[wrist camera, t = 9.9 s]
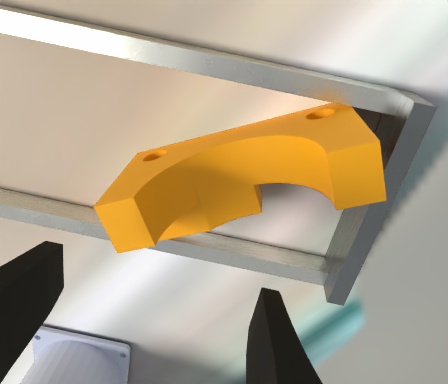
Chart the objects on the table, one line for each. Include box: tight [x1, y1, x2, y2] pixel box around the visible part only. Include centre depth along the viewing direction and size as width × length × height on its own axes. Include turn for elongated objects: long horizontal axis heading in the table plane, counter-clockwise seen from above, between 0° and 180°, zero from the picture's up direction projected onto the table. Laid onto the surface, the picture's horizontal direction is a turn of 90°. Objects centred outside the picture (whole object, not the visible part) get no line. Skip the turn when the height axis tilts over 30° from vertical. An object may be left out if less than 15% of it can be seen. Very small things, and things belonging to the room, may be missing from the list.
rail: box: [0, 5, 437, 306], centre depth 20 cm, size 12×30×3 cm, turn 79°
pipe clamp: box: [94, 103, 387, 253], centre depth 18 cm, size 12×4×6 cm, turn 107°
